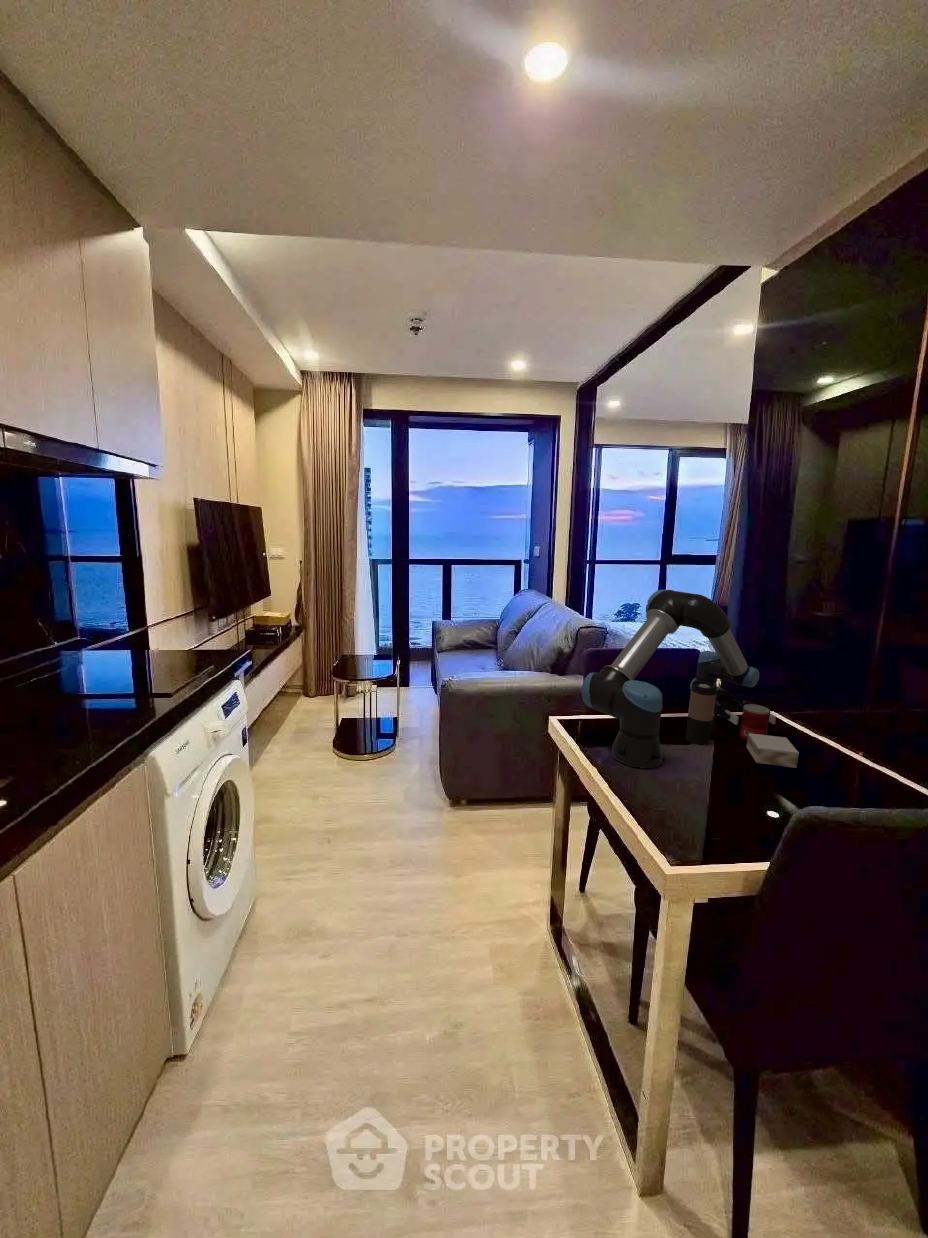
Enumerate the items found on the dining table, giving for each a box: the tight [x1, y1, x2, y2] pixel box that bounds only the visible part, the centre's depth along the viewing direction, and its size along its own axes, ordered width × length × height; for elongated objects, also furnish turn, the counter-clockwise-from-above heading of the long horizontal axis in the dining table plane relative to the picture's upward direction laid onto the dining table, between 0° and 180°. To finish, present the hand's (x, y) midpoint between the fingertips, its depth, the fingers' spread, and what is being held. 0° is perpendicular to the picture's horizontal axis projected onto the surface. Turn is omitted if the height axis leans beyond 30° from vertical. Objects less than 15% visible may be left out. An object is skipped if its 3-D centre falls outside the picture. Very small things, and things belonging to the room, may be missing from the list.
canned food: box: [739, 703, 771, 741], centre depth 172 cm, size 8×8×11 cm
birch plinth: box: [746, 733, 800, 769], centre depth 159 cm, size 11×11×5 cm
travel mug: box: [685, 681, 718, 746], centre depth 168 cm, size 8×8×20 cm
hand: (755, 720), depth 172 cm, fingers open, 13 cm apart
